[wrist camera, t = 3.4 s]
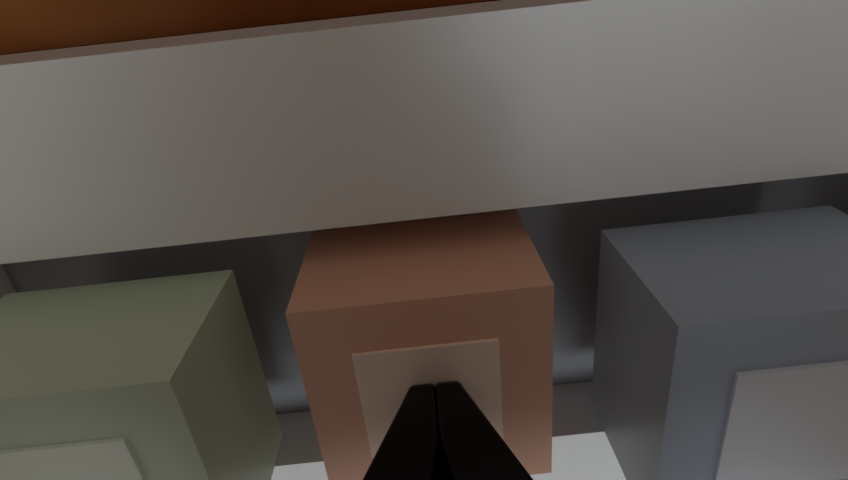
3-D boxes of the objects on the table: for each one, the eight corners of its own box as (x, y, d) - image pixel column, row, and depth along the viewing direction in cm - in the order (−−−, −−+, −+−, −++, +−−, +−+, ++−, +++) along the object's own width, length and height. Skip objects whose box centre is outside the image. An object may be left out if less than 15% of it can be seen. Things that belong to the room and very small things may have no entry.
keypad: (1189, -76, 10) (1428, -92, 8) (963, 401, 15) (1065, 476, 13) (-113, 67, 10) (-265, 94, 8) (112, 490, 16) (62, 581, 13)
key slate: (829, 204, 10) (1001, 295, 7) (782, 382, 12) (903, 508, 9) (600, 230, 10) (681, 329, 7) (591, 402, 12) (651, 534, 9)
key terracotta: (515, 209, 11) (555, 287, 8) (519, 368, 13) (552, 475, 10) (312, 231, 11) (284, 316, 8) (346, 386, 13) (332, 498, 10)
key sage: (232, 269, 10) (167, 384, 7) (282, 435, 12) (246, 577, 9) (5, 294, 10) (-148, 418, 7) (92, 455, 12) (-3, 603, 9)
